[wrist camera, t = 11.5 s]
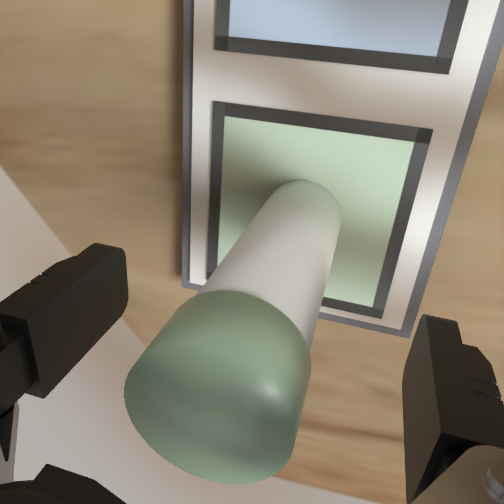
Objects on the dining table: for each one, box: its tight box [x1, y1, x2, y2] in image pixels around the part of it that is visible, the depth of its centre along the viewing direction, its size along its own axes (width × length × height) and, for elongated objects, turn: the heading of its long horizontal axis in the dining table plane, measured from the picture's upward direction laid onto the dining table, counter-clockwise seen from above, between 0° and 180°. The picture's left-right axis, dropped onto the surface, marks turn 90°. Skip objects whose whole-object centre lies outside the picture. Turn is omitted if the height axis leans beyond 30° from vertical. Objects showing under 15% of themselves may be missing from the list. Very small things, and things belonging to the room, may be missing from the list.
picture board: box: [182, 0, 504, 338], centre depth 16 cm, size 20×11×1 cm, turn 175°
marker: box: [124, 180, 342, 484], centre depth 13 cm, size 4×4×11 cm
